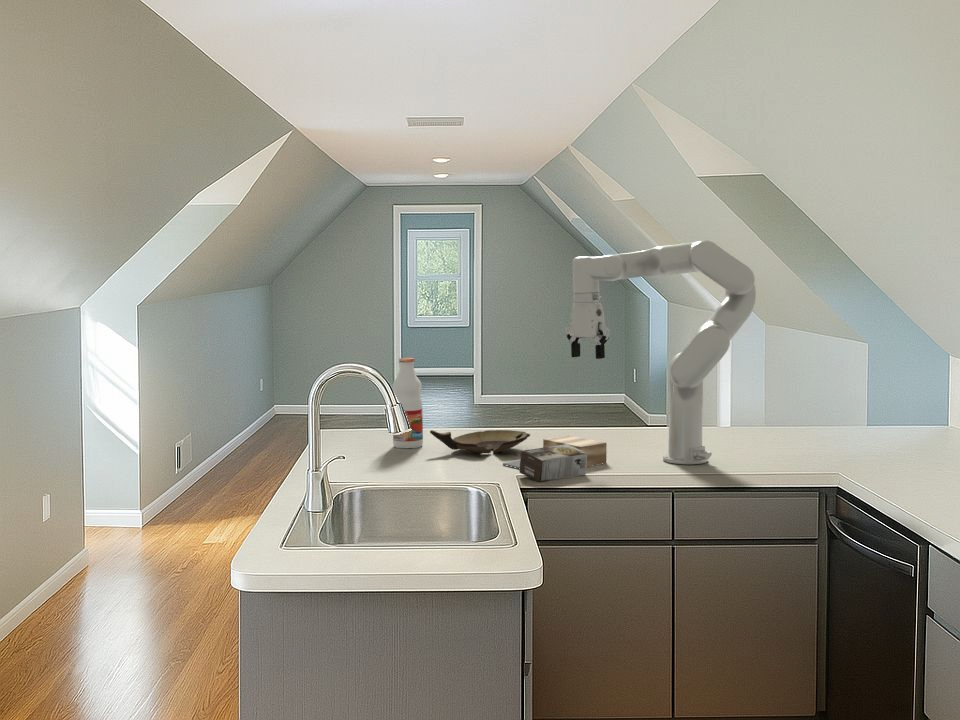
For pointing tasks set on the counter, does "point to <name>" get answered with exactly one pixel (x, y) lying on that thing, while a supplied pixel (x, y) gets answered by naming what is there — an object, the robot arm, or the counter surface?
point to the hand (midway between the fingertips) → (587, 357)
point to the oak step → (581, 447)
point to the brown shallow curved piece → (483, 440)
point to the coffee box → (553, 462)
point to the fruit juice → (409, 404)
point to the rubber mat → (513, 464)
